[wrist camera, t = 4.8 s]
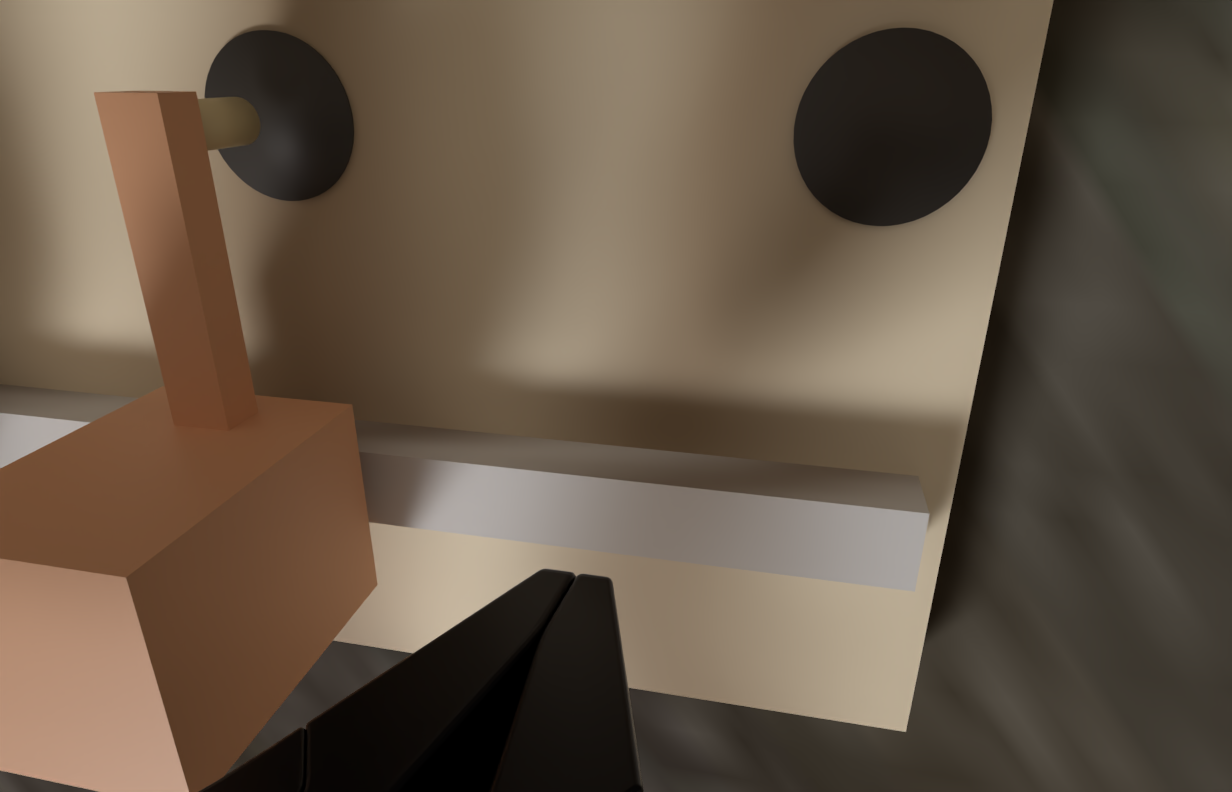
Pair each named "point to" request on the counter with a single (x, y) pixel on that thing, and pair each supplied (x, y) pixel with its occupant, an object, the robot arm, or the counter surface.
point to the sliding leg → (175, 511)
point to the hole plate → (572, 294)
